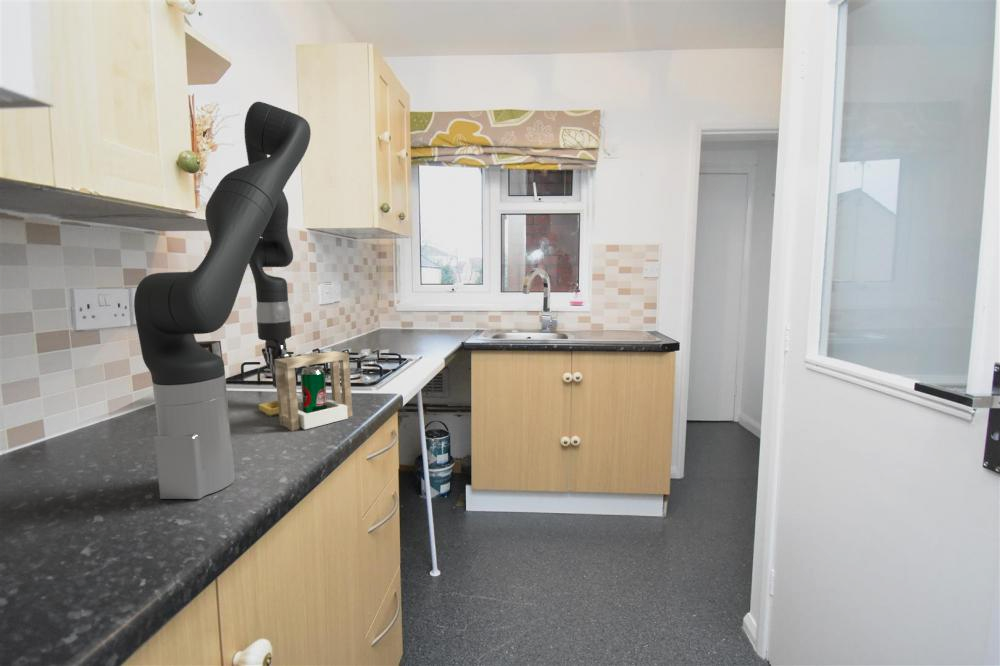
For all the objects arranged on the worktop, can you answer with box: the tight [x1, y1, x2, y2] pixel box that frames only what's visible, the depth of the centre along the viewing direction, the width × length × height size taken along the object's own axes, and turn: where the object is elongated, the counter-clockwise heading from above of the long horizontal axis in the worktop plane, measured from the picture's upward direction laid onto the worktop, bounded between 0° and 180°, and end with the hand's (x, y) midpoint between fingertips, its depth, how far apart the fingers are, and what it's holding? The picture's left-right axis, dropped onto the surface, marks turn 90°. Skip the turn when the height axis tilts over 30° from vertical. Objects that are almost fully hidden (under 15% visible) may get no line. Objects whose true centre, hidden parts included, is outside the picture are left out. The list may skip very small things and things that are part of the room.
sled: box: [275, 372, 349, 430], centre depth 109 cm, size 10×22×9 cm, turn 47°
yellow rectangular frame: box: [258, 400, 279, 417], centre depth 115 cm, size 12×7×2 cm, turn 137°
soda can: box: [300, 365, 328, 413], centre depth 105 cm, size 5×5×12 cm
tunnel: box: [275, 350, 354, 432], centre depth 104 cm, size 14×6×15 cm, turn 137°
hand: (278, 386), depth 118 cm, fingers closed
